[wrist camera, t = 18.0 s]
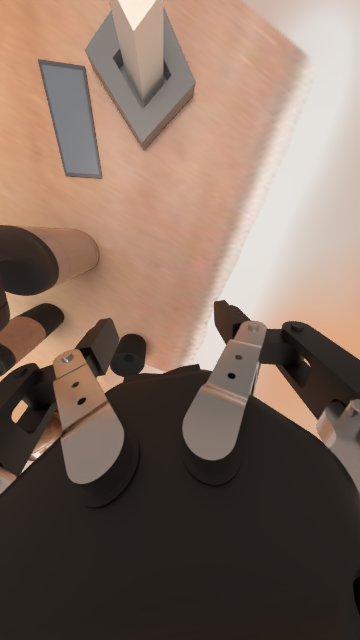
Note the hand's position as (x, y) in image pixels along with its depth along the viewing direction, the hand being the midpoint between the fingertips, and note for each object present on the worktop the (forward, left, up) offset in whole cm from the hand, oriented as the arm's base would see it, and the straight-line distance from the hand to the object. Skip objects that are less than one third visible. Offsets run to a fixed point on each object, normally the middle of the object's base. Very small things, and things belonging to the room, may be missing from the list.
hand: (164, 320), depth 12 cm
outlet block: (+2, +29, -33) cm, 44 cm away
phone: (-12, +25, -34) cm, 44 cm away
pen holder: (-15, -25, -33) cm, 44 cm away
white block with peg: (+2, +29, -33) cm, 44 cm away
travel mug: (-35, -10, -33) cm, 49 cm away
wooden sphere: (-56, -55, -33) cm, 85 cm away
